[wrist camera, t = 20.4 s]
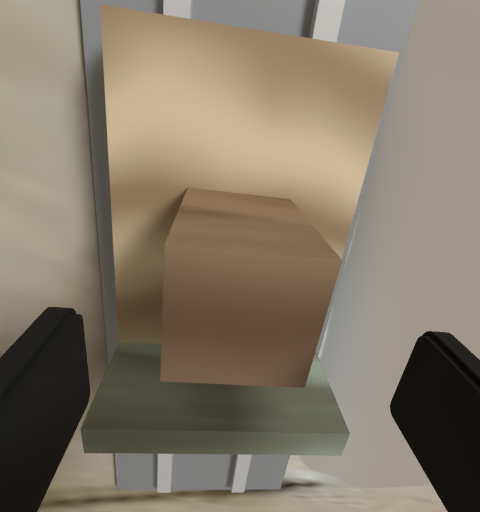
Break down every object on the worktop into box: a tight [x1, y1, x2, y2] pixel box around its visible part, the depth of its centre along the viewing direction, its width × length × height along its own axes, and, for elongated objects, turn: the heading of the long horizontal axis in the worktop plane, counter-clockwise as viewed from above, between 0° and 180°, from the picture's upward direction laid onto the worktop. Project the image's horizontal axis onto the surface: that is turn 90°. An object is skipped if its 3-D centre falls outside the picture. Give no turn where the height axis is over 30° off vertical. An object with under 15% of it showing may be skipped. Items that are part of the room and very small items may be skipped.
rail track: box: [80, 0, 419, 493], centre depth 22 cm, size 42×16×1 cm, turn 173°
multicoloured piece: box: [81, 4, 399, 456], centre depth 15 cm, size 18×12×9 cm
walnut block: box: [160, 187, 342, 388], centre depth 13 cm, size 5×5×7 cm
